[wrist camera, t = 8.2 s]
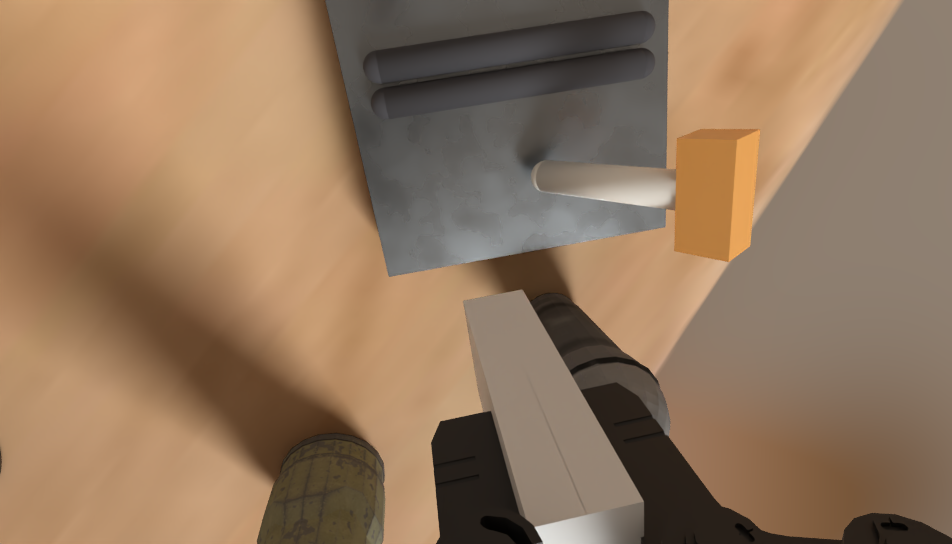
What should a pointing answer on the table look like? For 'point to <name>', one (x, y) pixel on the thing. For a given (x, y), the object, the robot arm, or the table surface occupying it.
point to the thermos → (327, 494)
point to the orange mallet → (678, 188)
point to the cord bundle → (508, 51)
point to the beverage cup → (597, 354)
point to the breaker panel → (496, 136)
